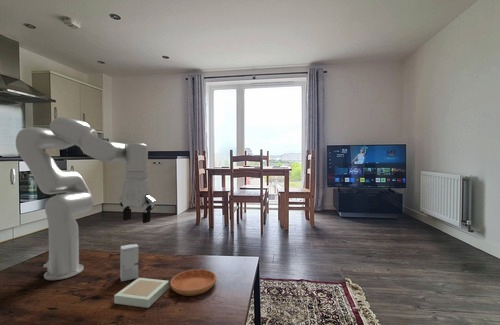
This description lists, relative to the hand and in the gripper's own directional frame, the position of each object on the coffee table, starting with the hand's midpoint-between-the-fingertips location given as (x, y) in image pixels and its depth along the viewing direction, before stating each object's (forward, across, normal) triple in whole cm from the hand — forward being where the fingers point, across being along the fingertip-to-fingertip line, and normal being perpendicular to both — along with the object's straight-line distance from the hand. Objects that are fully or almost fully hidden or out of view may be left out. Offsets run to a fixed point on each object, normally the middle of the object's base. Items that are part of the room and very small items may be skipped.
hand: (136, 221), depth 93 cm
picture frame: (+22, +11, -8) cm, 26 cm away
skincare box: (+22, -3, 0) cm, 23 cm away
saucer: (+22, +24, +4) cm, 33 cm away
